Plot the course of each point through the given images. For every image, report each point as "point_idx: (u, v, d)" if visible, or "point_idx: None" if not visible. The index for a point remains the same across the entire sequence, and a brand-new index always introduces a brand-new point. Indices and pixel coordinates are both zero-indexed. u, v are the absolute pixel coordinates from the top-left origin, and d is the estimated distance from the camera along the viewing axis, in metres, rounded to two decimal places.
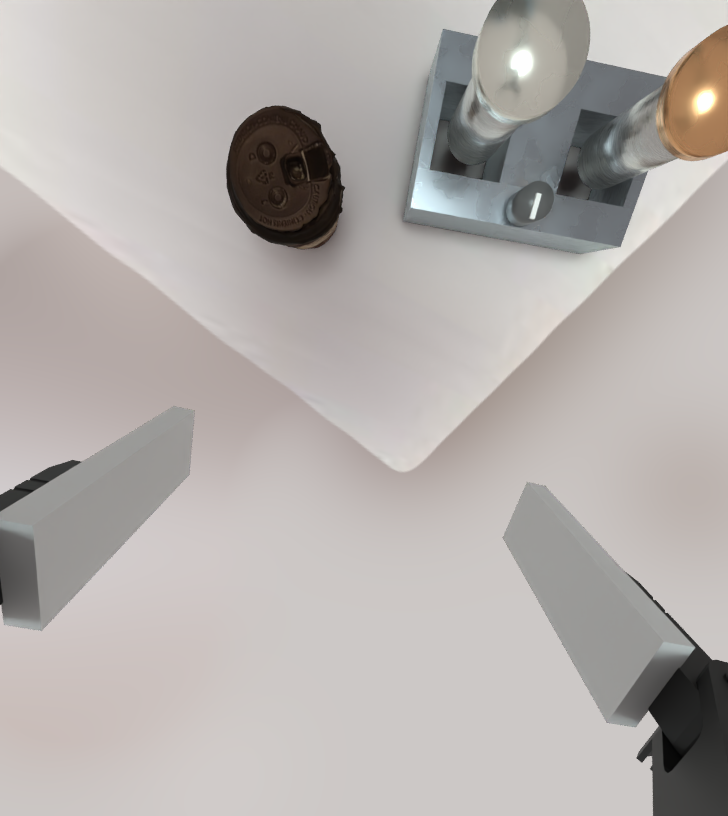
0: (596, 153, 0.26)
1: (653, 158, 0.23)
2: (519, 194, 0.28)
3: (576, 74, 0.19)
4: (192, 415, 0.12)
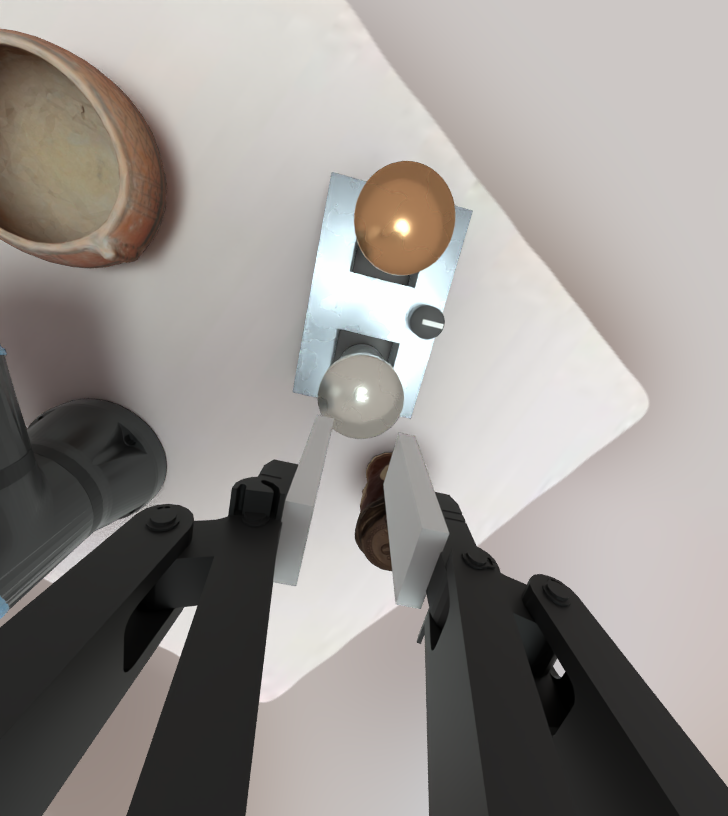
0: None
1: None
2: None
3: (380, 363, 0.23)
4: None
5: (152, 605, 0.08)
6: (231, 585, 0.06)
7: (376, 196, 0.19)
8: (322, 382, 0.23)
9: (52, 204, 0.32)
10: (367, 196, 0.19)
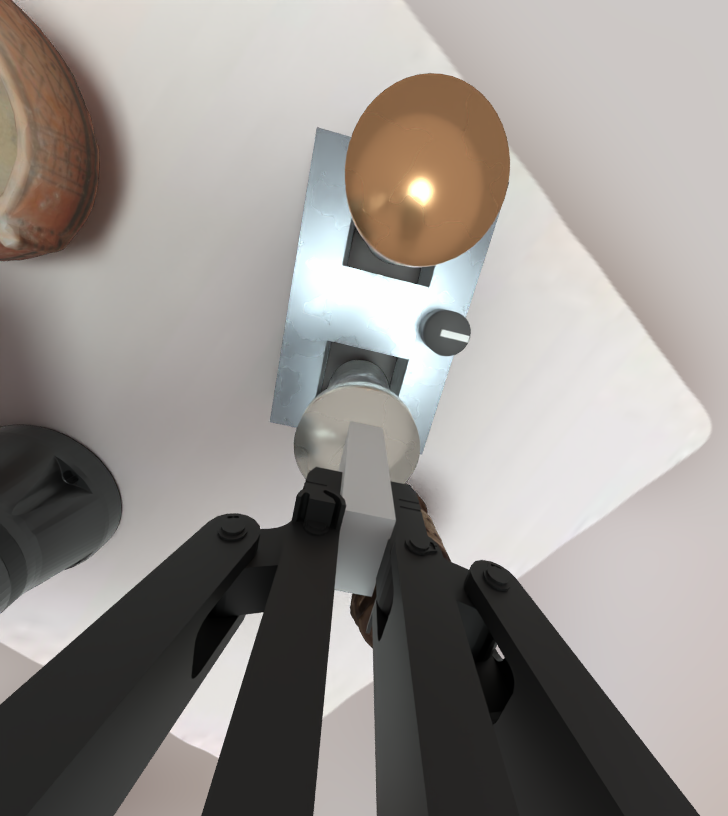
0: None
1: None
2: (436, 353, 0.22)
3: (385, 399, 0.15)
4: None
5: (217, 612, 0.08)
6: (295, 591, 0.07)
7: (381, 135, 0.12)
8: (300, 425, 0.16)
9: None
10: (366, 135, 0.12)
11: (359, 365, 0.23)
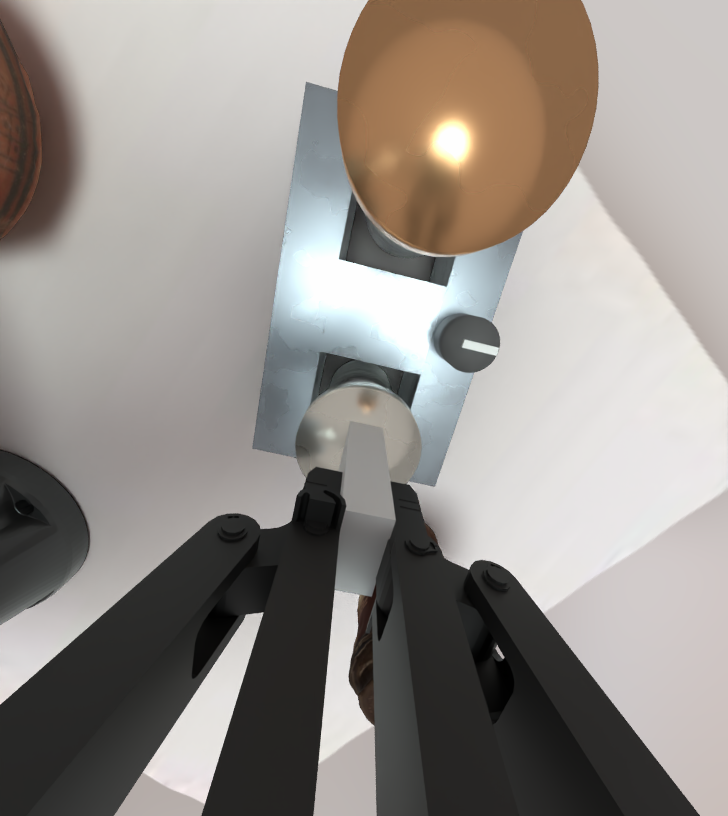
0: (418, 253, 0.16)
1: None
2: (456, 368, 0.18)
3: (386, 399, 0.15)
4: None
5: (217, 612, 0.08)
6: (295, 591, 0.07)
7: (395, 42, 0.07)
8: (301, 426, 0.16)
9: None
10: (371, 42, 0.07)
11: (360, 365, 0.23)
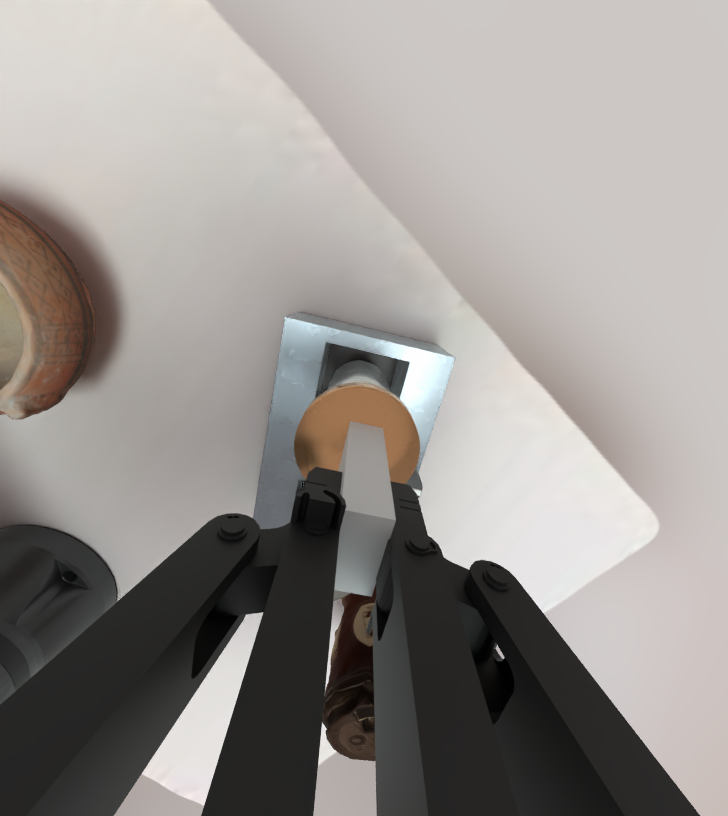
0: None
1: None
2: None
3: None
4: None
5: (217, 613, 0.08)
6: (295, 591, 0.07)
7: (320, 425, 0.16)
8: None
9: None
10: (309, 425, 0.16)
11: None
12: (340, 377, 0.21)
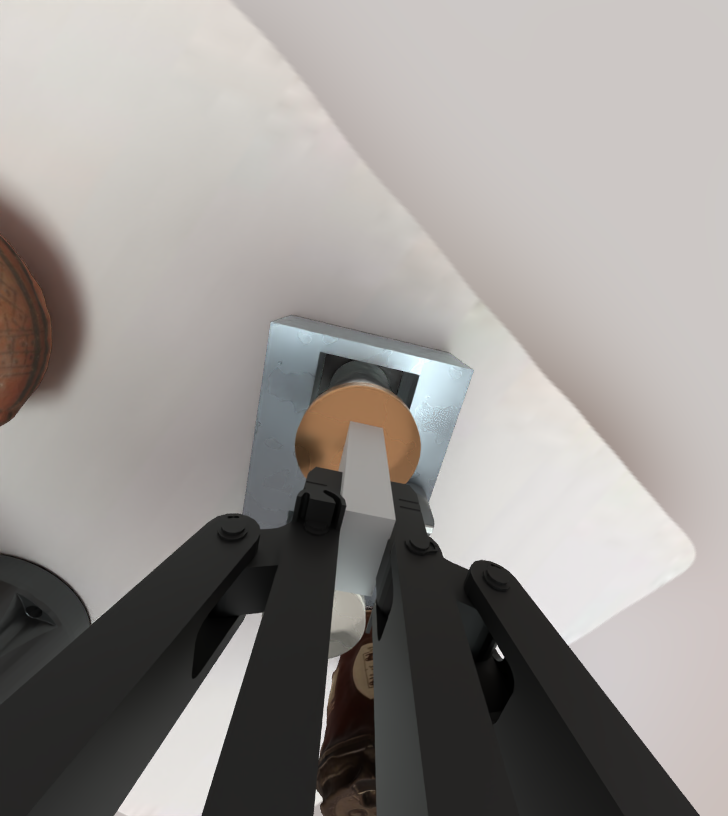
0: None
1: None
2: None
3: None
4: None
5: (218, 612, 0.08)
6: (295, 592, 0.07)
7: (321, 425, 0.16)
8: None
9: None
10: (310, 425, 0.16)
11: None
12: (341, 377, 0.21)
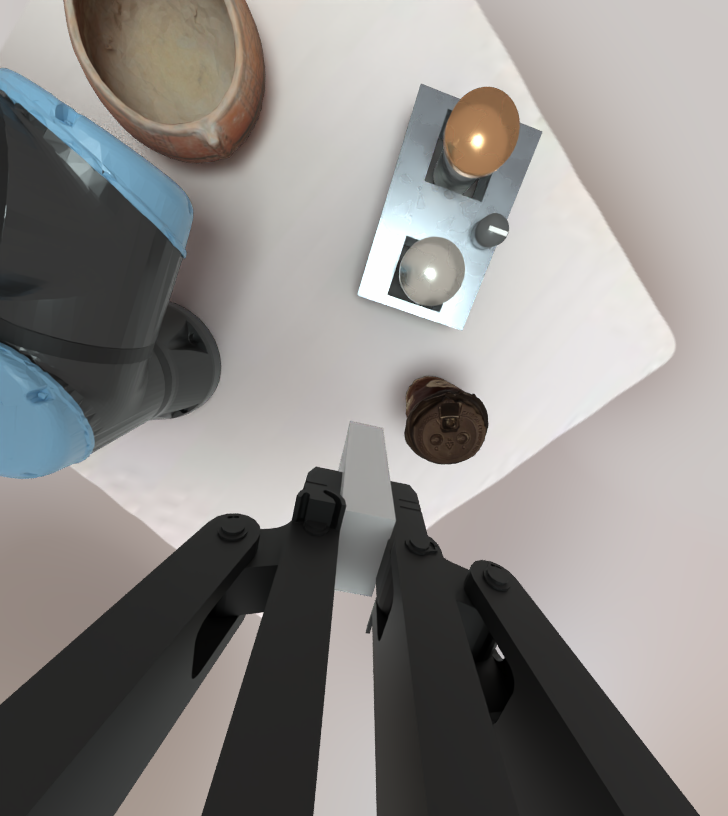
0: (457, 190, 0.36)
1: None
2: (483, 244, 0.33)
3: (450, 244, 0.30)
4: None
5: (217, 612, 0.08)
6: (295, 591, 0.07)
7: (465, 111, 0.27)
8: (405, 255, 0.31)
9: (155, 101, 0.35)
10: (458, 111, 0.27)
11: None
12: None
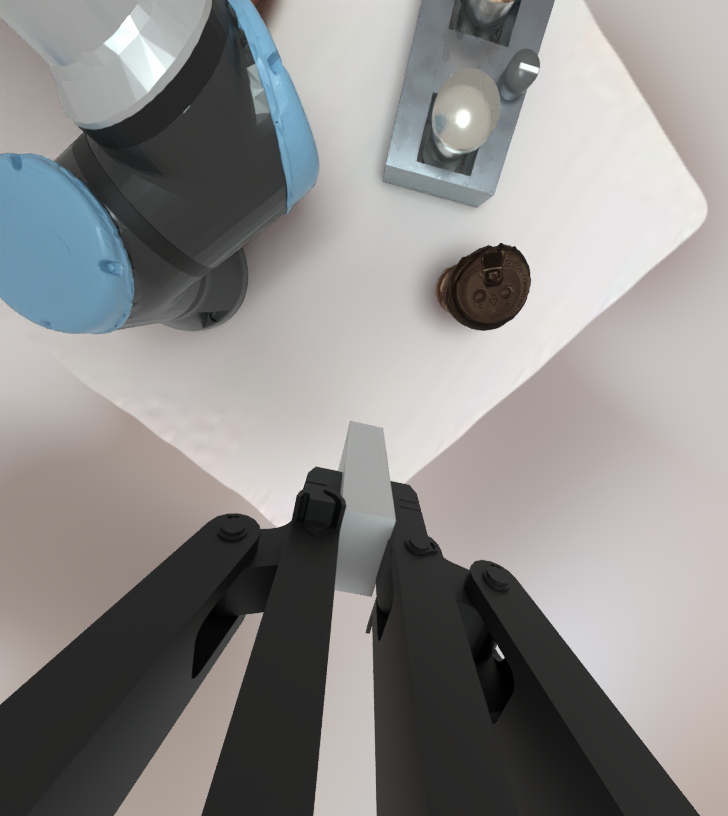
0: None
1: None
2: (514, 86, 0.32)
3: (484, 75, 0.30)
4: None
5: (217, 612, 0.08)
6: (295, 591, 0.07)
7: None
8: (439, 93, 0.30)
9: None
10: None
11: None
12: None
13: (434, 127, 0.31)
